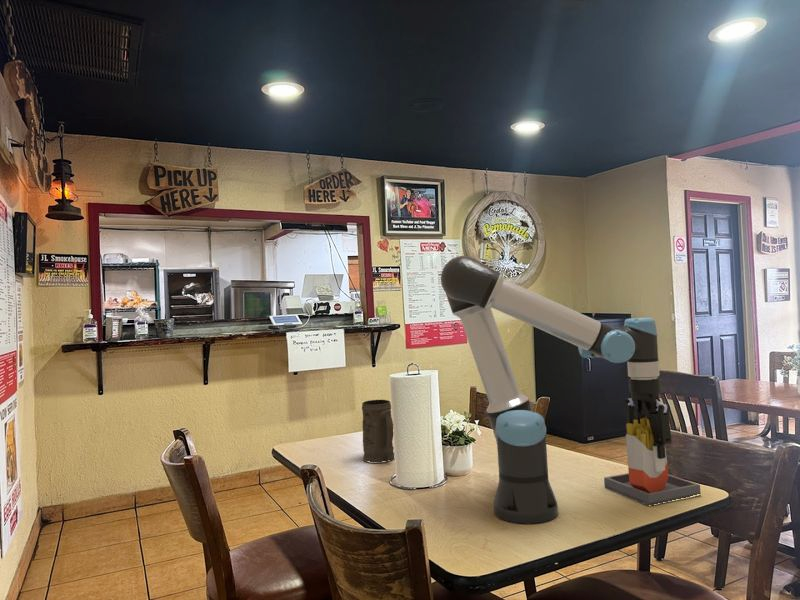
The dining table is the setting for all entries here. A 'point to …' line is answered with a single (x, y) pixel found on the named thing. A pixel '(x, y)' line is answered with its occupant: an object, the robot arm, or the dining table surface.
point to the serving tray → (671, 491)
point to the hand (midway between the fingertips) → (650, 467)
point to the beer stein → (377, 431)
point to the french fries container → (643, 458)
